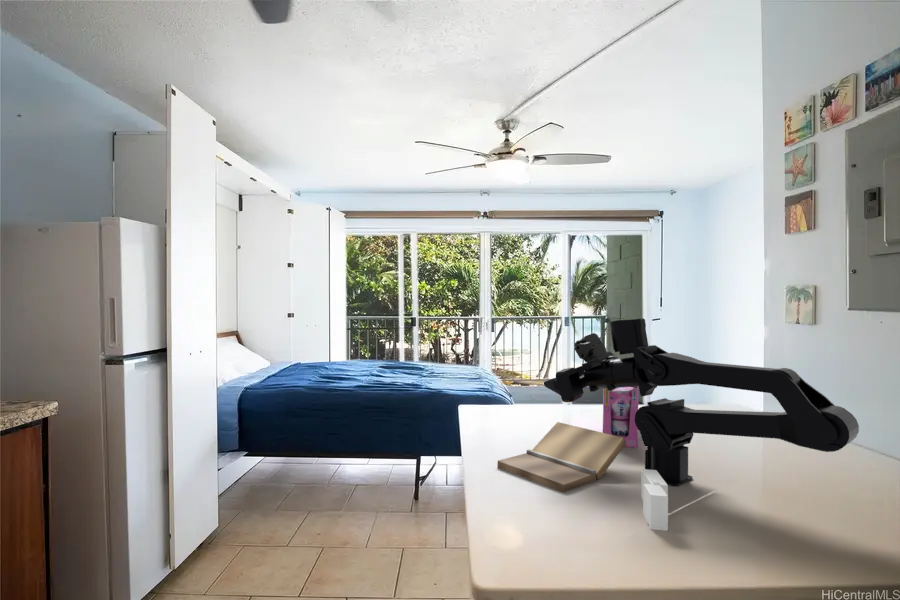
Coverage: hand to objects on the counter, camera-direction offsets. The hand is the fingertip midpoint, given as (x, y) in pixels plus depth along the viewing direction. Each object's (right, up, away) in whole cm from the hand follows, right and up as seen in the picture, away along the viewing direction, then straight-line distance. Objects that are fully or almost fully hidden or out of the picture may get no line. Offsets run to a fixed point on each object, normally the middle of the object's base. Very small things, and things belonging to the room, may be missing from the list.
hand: (556, 378), depth 110 cm
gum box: (+18, -16, +12) cm, 27 cm away
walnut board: (-6, -15, -18) cm, 24 cm away
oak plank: (+2, -13, -12) cm, 17 cm away
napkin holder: (+7, -16, -35) cm, 39 cm away
